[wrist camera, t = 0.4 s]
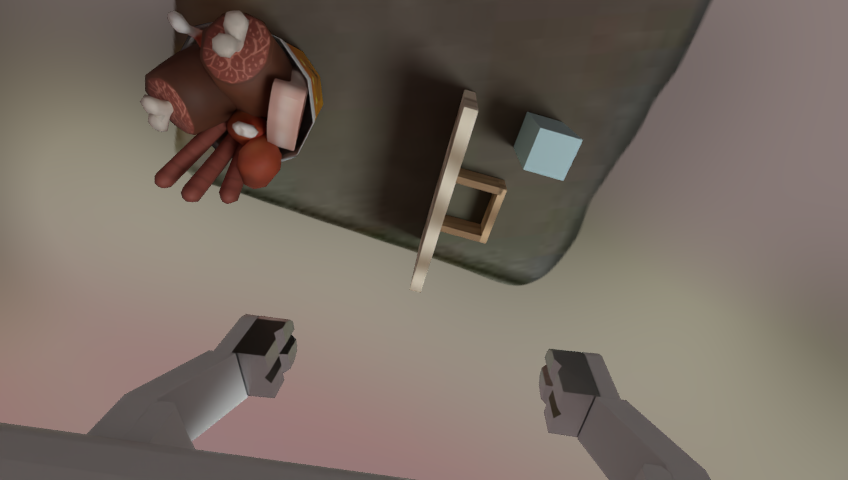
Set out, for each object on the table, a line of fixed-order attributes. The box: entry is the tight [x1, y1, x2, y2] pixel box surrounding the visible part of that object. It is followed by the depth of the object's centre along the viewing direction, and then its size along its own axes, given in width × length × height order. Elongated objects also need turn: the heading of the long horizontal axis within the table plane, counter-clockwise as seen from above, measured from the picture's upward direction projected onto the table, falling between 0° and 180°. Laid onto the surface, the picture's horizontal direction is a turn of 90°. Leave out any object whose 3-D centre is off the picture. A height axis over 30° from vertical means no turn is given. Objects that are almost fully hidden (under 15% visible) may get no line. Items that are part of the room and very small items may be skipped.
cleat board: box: [410, 90, 507, 293], centre depth 49 cm, size 24×10×14 cm, turn 165°
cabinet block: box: [514, 112, 583, 181], centre depth 46 cm, size 5×6×10 cm
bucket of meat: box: [140, 10, 323, 204], centre depth 42 cm, size 20×16×20 cm
